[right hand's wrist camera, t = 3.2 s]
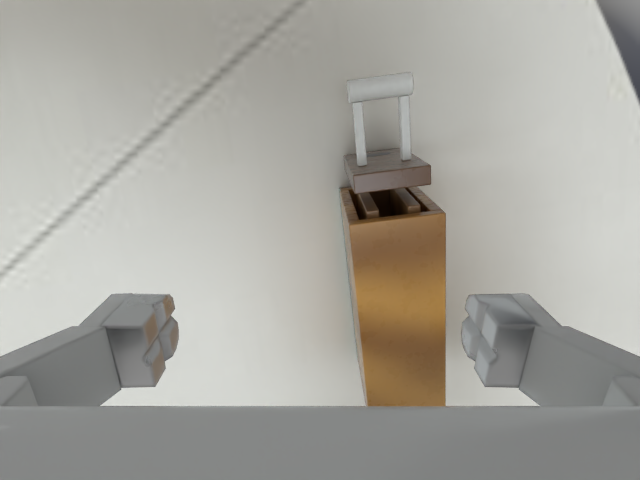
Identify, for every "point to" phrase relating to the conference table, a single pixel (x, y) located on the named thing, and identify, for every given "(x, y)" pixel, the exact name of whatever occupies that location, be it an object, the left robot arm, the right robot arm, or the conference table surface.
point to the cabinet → (398, 301)
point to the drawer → (384, 153)
